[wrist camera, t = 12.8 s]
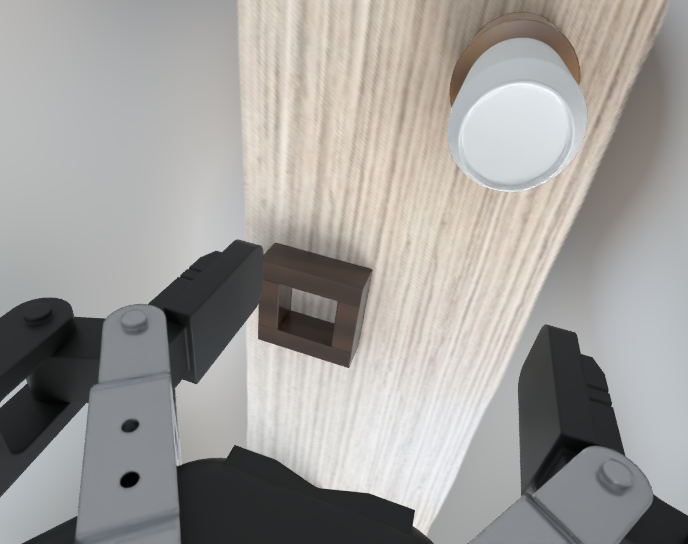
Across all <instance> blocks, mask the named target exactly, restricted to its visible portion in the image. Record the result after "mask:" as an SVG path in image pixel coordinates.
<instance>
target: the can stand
mask: <svg viewBox="0 0 688 544" xmlns="http://www.w3.org/2000/svg"><path fill="white" fill-rule="evenodd" d="M371 275H372V269H368V268H364V267H361V266H357V265H353V264H350V263H346V262H342V261H339V260H335V259H332V258H328V257H324V256H321V255H317V254H313V253H310V252H306V251H302V250H299V249H295V248H292V247H288V246H284V245H281V244H277V243H274V244H273V245H272V246H271V248H270V249H269V250H268V251H267V252H266V253H265V254H264V255H263V288H262V295H261V298H260V301H259V320H258V339H259V340H263V341H266V342H269V343H272V344H275V345H278V346H281V347H285V348H288V349H291V350H294V351H297V352H300V353H303V354H306V355H310V356H313V357H316V358H319V359H322V360H325V361H328V362H331V363H335V364H338V365H341V366H344V367H347V368H349V367H350V364H351V362H352V360H353V357H354V355H355V353H356V350H357V348H358V344H359V339H360V334H361V328H362V323H363V318H364V312H365V307H366V302H367V296H368V291H369V286H370V281H371ZM292 288H295V289H298V290H302V291H305V292H309V293H312V294H316V295H319V296H322V297H326V298H329V299H333V300H336V301H338V304H337V311H336V318H335V324H333V323H329V322H326V321H323V320H320V319H316V318H313V317H310V316H306V315H303V314H300V313H296V312H293V311H290V308H291V293H292Z"/></svg>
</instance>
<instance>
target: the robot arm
mask: <svg viewBox="0 0 688 544" xmlns="http://www.w3.org/2000/svg"><path fill="white" fill-rule="evenodd" d="M262 288H263V248H262V246H260V245H256V244H253V243H249V242H245V241H242V240H235V241H234V242H233V243H232V244H230V245H229V246H228V247H227V248H226V249H225V250H224V251H223V252H218V251H215V252H212V253H210V254H207V255H205V256H203V257H200V258H199V259H198V260H197V261H196V262H195V263H194V264H193V265H191V266H190V267H189V270H188V269H187V270H186V271H185V272H183V273H182V274H181V276H180V278H179V277H178V278H177V279H176V280H174V281H173V282H172V283H171V284H170V285H169V286H168V287H167V288H166V289H164V290H163V291H162V292H161V293H160V294H159V295H158V296H157V297H155V298H154V299H153V300H152V301H151V302H150V303H149V304H148V305H147V304H134V305H129V306H125V307H122V308H120V309H118V310H116V311H114V312H113V313H111V314H110V315H109V316H108V317H107V318H106V319H103V318H86V317H74V314H73V310H72V307H71V305H70V304H69V303H68V302H66V301H64V300H62V299H58V298H39V299H34V300H31V301H27V302H25V303H22V304H20V305H18V306H16V307H15V308H13V309H12V310H10V311H9V312H8V313H6V314H5V315H3V316H2V317H1V318H0V402H1V401H2V400H3V399H4V398H5V397H6V396H7V394H9V393H10V392H11V391H12V390H13V389H15V388H16V387H17V386H18V385H19V384H20V383H21V382H22V381H23V380H25V379H26V380H27V384H26V385H25V386H24V387H23V388H22V389H21V390H20V391H19V392H17V393H16V394H15V395H14V396H13V397H12V398H11V399H10V400H9V401H7V402H6V403H5V404H4V405H3V406H2V407H1V408H0V497H1V496H2V495H3V494H4V493H5V492H6V490H7V489H8V488H9V487H10V486H11V485H12V484H13V483H14V482H15V481H16V480H17V478H18V477H19V476H20V475H21V474H22V473H23V472H24V471H25V470H26V468H27V467H28V466H29V465H30V464H31V463H32V462H33V461H34V460H35V459H36V458H37V456H38V455H39V454H40V453H41V452H42V451H43V450H44V449H45V448H46V447H47V445H48V444H49V443H50V442H51V441H52V440H53V439H54V438H55V437H56V436H57V435H58V433H59V432H60V431H61V430H62V429H63V428H64V427H65V426H66V425H67V424H68V422H69V421H70V420H71V419H72V418H73V417H74V416H75V415H76V414H77V412H79V410H80V409H81V408H82V407H83V406H84V405H85V404H86V403H89V406H88V416H87V426H86V436H85V446H84V456H83V466H82V477H81V486H80V497H79V506H78V516H76V517H74V518H72V519H70V520H68V521H66V522H64V523H62V524H60V525H58V526H56V527H54V528H52V529H50V530H48V531H46V532H44V533H42V534H40V535H38V536H36V537H34V538H32V539H30V540H28V541H26V542H24V543H22V544H434V543H433V542H432V541H431V540H430V539H429V538H427V537H426V536H425V535H424V534H423V533H422V532H420V531H419V530H418V529H416V528H415V527H413V526H412V525H413V519H414V513H415V510H413V509H410V508H408V507H405V506H402V505H399V504H396V503H394V502H391V501H388V500H385V499H383V498H380V497H377V496H374V495H372V494H369V493H360V492H350V491H340V490H330V489H321V488H317V487H315V486H313V485H312V484H310V483H309V482H307V481H306V480H304V479H303V478H302V477H300V476H299V475H297V474H296V473H294V472H293V471H291V470H290V469H289V468H287V467H286V466H284V465H283V464H281V463H280V462H278V461H277V460H275V459H272V458H269V457H266V456H263V455H261V454H258V453H255V452H252V451H250V450H247V449H244V448H241V447H239V446H236V445H234V447H233V449H232V450H231V452H230V454H229V456H228V457H227V458H208V459H201V460H196V461H192V462H188V463H185V464H182V460H181V449H180V438H179V426H178V415H177V403H176V393H175V388H176V386H177V385H178V384H179V383H180V381H181V380H182V379H183V380H186V381H189V382H192V383H194V384H197V383H198V382H199V381H200V380H201V378H202V377H203V376H204V374H205V373H206V372H207V371H208V369H209V368H210V367H211V365H212V364H213V363H214V362H215V360H216V359H217V358H218V356H219V355H220V354H221V353H222V351H223V350H224V349H225V347H226V346H227V345H228V343H229V342H230V341H231V340H232V338H233V337H234V336H235V334H236V333H237V332H238V331H239V329H240V328H241V327H242V325H243V324H244V323H245V322H246V320H247V319H248V318H249V316H250V315H251V314H252V312H253V311H254V310H255V309H256V307H257V305H258V303H259V301H260V298H261V295H262ZM518 400H519V401H518V402H519V432H520V433H519V436H520V466H521V468H520V469H521V496H522V497H521V498H520V499H518V500H517V501H516V502H515V503H514V504H513V505H512V506H510V507H509V508H508V509H507V510H506V511H505V512H503V513H502V514H501V515H500V516H499V517H498V518H496V519H495V520H494V521H493V522H492V523H491V524H490V525H489V526H487V527H486V528H485V529H484V530H483V531H482V532H480V533H479V534H478V535H477V536H476V537H475V538H474V539H472V540H471V541H470V542H469V543H468V544H688V516H687V515H686V514H684V513H682V512H681V511H679V510H677V509H675V508H674V507H672V506H670V505H668V504H667V503H665V502H664V501H662V500H660V499H659V498H658V497H656V496H655V495H654V494H653V491H652V487H651V485H650V483H649V481H648V479H647V477H646V476H645V475H644V473H643V472H642V471H641V470H640V469H639V467H638V466H637V465H636V464H634V463H633V462H632V461H631V460H630V459H628V458H627V457H626V456H625V453H624V449H623V445H622V442H621V437H620V433H619V429H618V426H617V421H616V417H615V413H614V410H613V407H611V405H612V402H611V398H610V394H609V393H608V386H607V382H606V378H605V374H604V373H603V371H602V370H601V369H600V367H599V366H598V364H597V363H596V362H595V360H594V359H593V358H592V357H589V356H586V355H582V354H581V353H580V348H579V344H578V338H577V335H576V333H575V332H572V331H568V330H564V329H560V328H556V327H553V326H550V325H544V326H543V327H542V328H541V330H540V332H539V334H538V336H537V338H536V340H535V342H534V344H533V346H532V348H531V350H530V352H529V354H528V356H527V359H526V360H525V363H524V365H523V367H522V370H521V373H520V377H519V383H518Z"/></svg>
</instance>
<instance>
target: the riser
mask: <svg viewBox="0 0 688 544" xmlns="http://www.w3.org/2000/svg"><path fill="white" fill-rule="evenodd" d="M513 38H532V39H536V40H539V41H541V42H543V43H545V44H547V45H548V46H550V47H551V48H552V49H553V50H554V51H555V52H556V53H557V54H558V55H559V56H560V58H561V59H562V60H563V62H564V63H565V65H566V67H567V68H568V70H569V71H570V73H571V74H572V76H573V77H574V79H575V81H576V82H577V84H578V85H579V84H580V67H579V62H578V58H577V55H576V53H575V50H574V48H573V47H572V45H571V43H570V42H569V41H568V39H567V38H566V37H565V36H564V35H563V34H562V33H561V32H560V31H559V30H558V28H557V27H556V26H555V25H553V24H552V23H551V22H550V21H549V20H547V19H545V18H544V17H541V16H539V15H536V14H532V13H526V12H518V13H511V14H507V15H504V16H501V17H499V18H496V19H494V20H493V21H491V22H490V23H488V24H487V25H485V26H484V27H483V28H482V29H481V30H480V31H479V32H478V33H477V34H476V35H475V36H474V38H473V39H472V40H471V42H470V43H469V44H468V46H467V47H466V49H465V50H464V52H463V53H462V55H461V56H460V58H459V60H458V62H457V64H456V66H455V68H454V71H453V74H452V78H451V83H450V102H451V108H452V106H453V104H454V101H455V99H456V97H457V95H458V93H459V91H460V89H461V87H462V85H463V83H464V81H465V79H466V77H467V75H468V73H469V71H470V69H471V68H472V66H473V65H474V63H475V62H476V61H477V59H478V58H479V57H480V56H481V55H482V54H483V53H484V52H485V51H487V50H488V49H489V48H491V47H492V46H494V45H496V44H498V43H500V42H502V41H505V40H508V39H513Z"/></svg>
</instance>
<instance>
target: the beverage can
mask: <svg viewBox="0 0 688 544" xmlns="http://www.w3.org/2000/svg"><path fill="white" fill-rule="evenodd" d="M586 127H587V107H586V102H585V98H584V96H583V93H582V91H581V89H580V87H579V85H578V84H577V82H576V81H575V79H574V77H573V76H572V74H571V73H570V71H569V70H568V68H567V67H566V65H565V63H564V62H563V60H562V59H561V58H560V56H559V55H558V54H557V53H556V52H555V51H554V50H553V49H552V48H551V47H550V46H548V45H547V44H545V43H543V42H541V41H539V40H536V39H532V38H513V39H508V40H505V41H502V42H500V43H498V44H496V45H494V46H492V47H491V48H489V49H488V50H487V51H485V52H484V53H483V54H482V55H481V56H480V57H479V58H478V59H477V61H476V62H475V63H474V65H473V66H472V68H471V69H470V71H469V73H468V75H467V77H466V79H465V81H464V83H463V85H462V87H461V89H460V91H459V93H458V95H457V97H456V99H455V101H454V104H453V106H452V108H451V111H450V115H449V119H448V125H447V138H448V145H449V149H450V152H451V155H452V157H453V159H454V161H455V162H456V164H457V166H458V167H459V168H460V169H461V171H462V172H463V173H464V174H465V175H466V176H467V177H469V178H470V179H471V180H473V181H474V182H476V183H478V184H480V185H482V186H484V187H487V188H490V189H494V190H498V191H504V192H517V191H523V190H527V189H531V188H533V187H536V186H538V185H541V184H543V183H545V182H547V181H548V180H550V179H552V178H553V177H555V176H556V175H557V174H559V173H560V172H561V171H562V170H563V169H564V168H565V167H566V166H567V165H568V164H569V163H570V162H571V161H572V159H573V158H574V157H575V155H576V154H577V152H578V150H579V148H580V146H581V144H582V142H583V139H584V136H585V132H586Z"/></svg>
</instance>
